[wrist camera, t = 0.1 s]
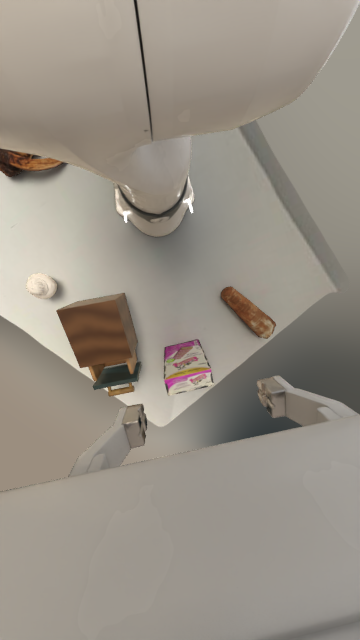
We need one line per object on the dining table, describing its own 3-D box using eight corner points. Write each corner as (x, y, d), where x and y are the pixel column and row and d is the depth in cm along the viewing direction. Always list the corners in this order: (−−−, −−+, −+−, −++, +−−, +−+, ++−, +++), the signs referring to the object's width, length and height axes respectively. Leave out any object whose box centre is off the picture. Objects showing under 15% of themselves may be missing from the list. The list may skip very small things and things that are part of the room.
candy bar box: (198, 338, 53) (212, 368, 38) (200, 351, 55) (215, 386, 39) (163, 346, 53) (163, 380, 38) (167, 359, 55) (168, 397, 39)
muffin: (62, 274, 44) (44, 275, 37) (64, 297, 46) (47, 303, 39) (36, 271, 43) (13, 272, 37) (39, 295, 45) (17, 300, 39)
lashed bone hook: (36, 202, 39) (87, 138, 36) (20, 195, 35) (76, 122, 32) (-5, 162, 36) (47, 89, 33) (-28, 150, 32) (30, 64, 29)
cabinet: (137, 341, 52) (132, 357, 43) (94, 349, 51) (80, 368, 42) (124, 292, 47) (115, 299, 38) (77, 301, 47) (55, 310, 37)
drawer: (144, 376, 55) (141, 394, 47) (108, 383, 54) (99, 402, 47) (130, 323, 49) (124, 334, 42) (88, 331, 49) (75, 343, 41)
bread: (255, 334, 55) (265, 342, 50) (215, 295, 50) (221, 298, 44) (270, 320, 54) (282, 327, 48) (231, 278, 48) (239, 280, 43)
